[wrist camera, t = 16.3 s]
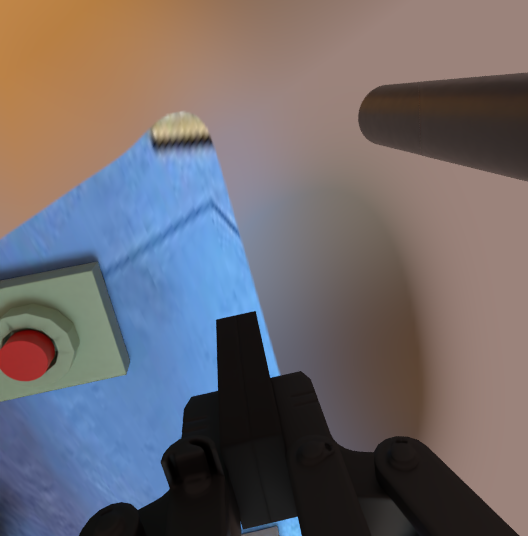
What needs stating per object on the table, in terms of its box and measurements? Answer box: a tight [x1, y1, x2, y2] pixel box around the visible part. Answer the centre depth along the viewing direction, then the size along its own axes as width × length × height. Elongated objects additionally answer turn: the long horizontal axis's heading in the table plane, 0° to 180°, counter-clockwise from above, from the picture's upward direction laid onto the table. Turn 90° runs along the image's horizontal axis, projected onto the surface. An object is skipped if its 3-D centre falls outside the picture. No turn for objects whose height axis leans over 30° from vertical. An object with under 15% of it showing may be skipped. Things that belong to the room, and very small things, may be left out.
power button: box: [0, 330, 55, 381], centre depth 34 cm, size 4×4×2 cm
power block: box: [0, 262, 130, 402], centre depth 37 cm, size 12×10×4 cm
